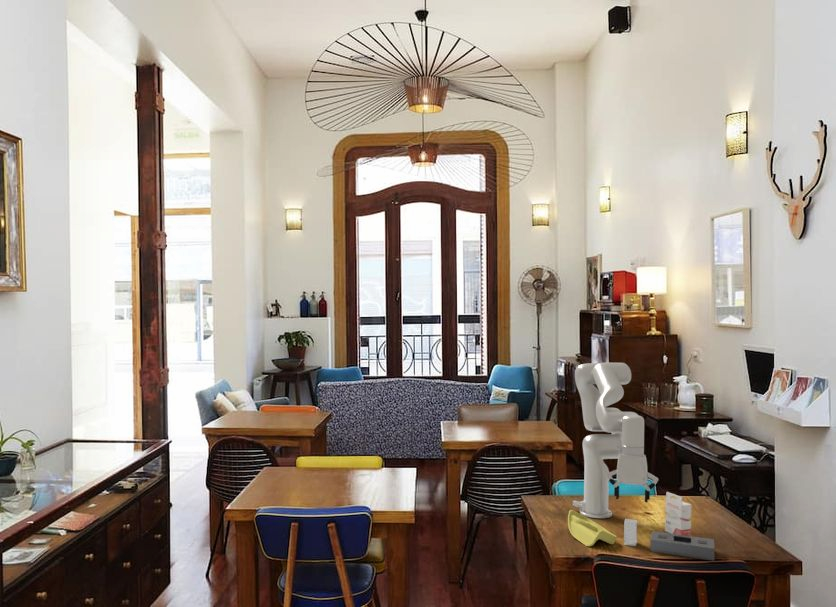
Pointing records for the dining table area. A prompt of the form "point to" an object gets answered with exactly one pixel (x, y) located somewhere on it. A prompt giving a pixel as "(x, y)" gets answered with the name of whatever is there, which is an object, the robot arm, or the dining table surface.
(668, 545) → the grey slotted block
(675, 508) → the ink cartridge box
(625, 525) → the steel peg
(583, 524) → the plastic component
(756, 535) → the dining table surface
